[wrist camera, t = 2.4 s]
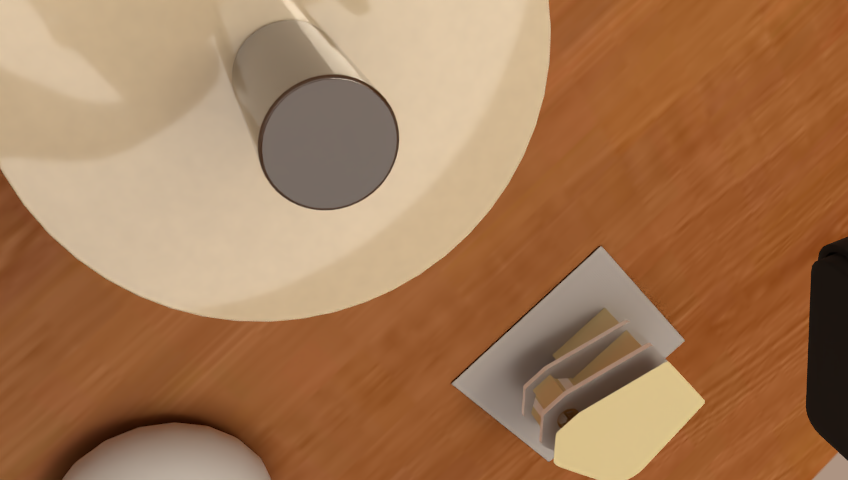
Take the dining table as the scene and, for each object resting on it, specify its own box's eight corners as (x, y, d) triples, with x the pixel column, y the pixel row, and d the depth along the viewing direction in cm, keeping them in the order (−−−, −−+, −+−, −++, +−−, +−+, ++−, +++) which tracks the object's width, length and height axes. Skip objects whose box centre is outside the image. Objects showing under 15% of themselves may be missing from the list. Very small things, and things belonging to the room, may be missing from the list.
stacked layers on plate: (600, 245, 39) (663, 303, 35) (684, 340, 44) (749, 402, 39) (451, 383, 40) (492, 457, 36) (548, 461, 45) (596, 535, 40)
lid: (126, 370, 25) (125, 524, 20) (-165, -156, 17) (-301, -143, 12) (565, 205, 27) (672, 302, 22) (482, -325, 20) (616, -378, 14)
